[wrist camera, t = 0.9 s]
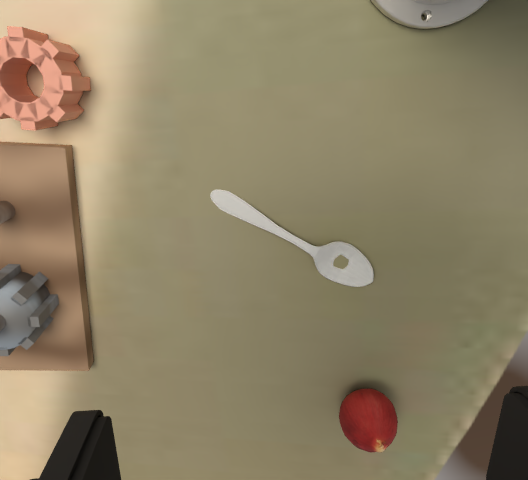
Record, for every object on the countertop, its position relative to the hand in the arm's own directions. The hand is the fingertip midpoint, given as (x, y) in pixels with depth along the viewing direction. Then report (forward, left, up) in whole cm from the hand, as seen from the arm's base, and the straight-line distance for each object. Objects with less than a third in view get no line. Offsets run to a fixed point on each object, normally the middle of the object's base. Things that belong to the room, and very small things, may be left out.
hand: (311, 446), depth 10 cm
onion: (+23, +13, -29) cm, 40 cm away
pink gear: (-8, -17, -29) cm, 35 cm away
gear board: (+8, -21, -29) cm, 37 cm away
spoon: (+4, +3, -30) cm, 30 cm away
